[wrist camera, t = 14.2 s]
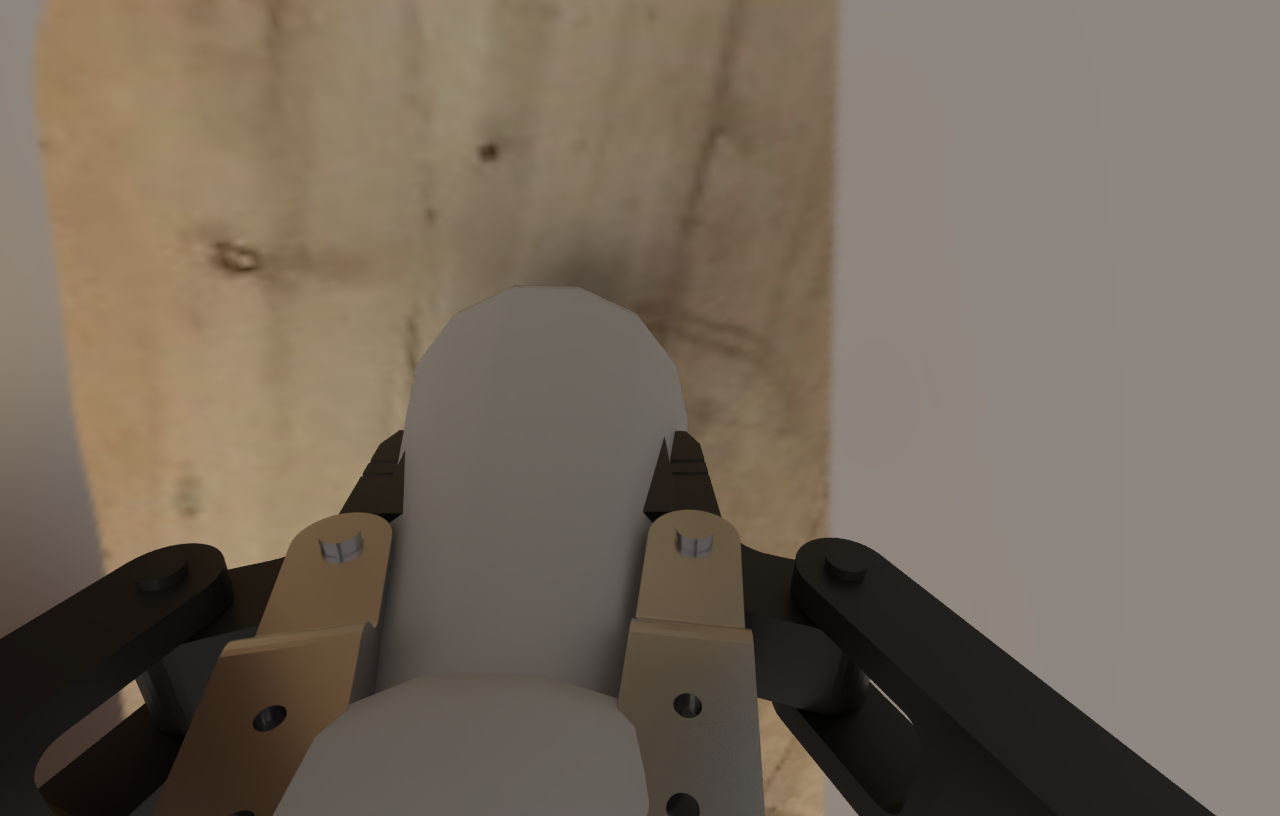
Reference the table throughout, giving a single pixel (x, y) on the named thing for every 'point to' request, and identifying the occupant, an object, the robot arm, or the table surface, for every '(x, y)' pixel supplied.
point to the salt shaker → (511, 572)
